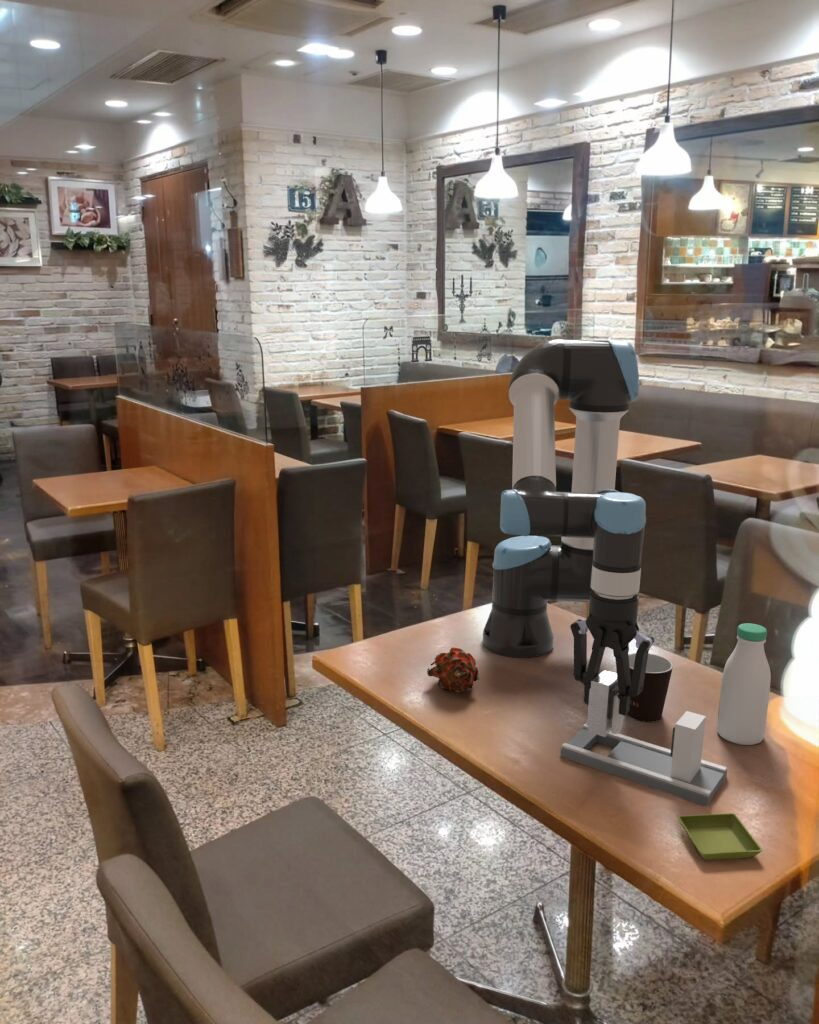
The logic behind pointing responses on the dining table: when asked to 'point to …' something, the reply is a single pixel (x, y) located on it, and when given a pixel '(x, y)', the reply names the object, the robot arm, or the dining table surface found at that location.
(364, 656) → the dining table surface
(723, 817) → the green square tray
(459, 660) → the dragon fruit
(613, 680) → the block
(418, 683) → the dining table surface
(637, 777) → the rail
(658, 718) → the coffee mug
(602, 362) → the robot arm
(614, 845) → the dining table surface
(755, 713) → the milk bottle
